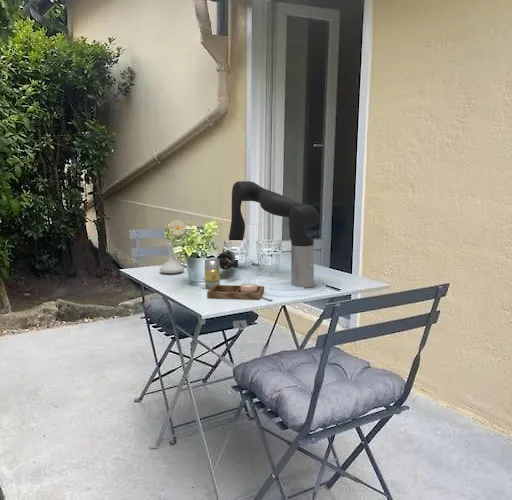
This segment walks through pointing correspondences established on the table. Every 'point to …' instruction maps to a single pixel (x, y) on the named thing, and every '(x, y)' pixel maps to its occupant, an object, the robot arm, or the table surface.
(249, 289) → the ramekin
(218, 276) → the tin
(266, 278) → the table surface
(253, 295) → the tray
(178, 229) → the flower in vase
